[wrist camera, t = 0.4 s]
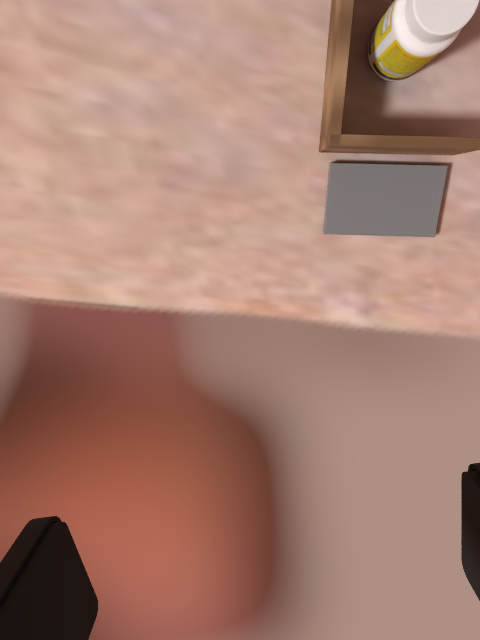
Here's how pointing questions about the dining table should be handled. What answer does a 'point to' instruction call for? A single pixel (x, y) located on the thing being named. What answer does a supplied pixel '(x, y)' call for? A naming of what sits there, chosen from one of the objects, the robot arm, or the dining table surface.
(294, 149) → the dining table surface
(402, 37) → the supplement bottle
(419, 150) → the walnut bay
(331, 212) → the slate coaster
